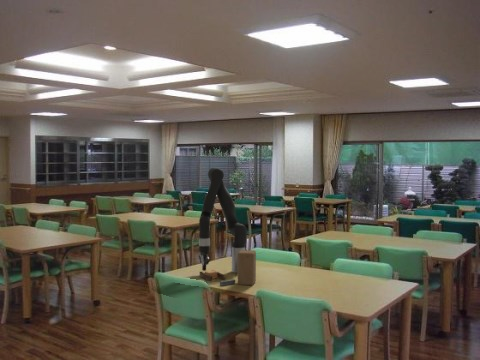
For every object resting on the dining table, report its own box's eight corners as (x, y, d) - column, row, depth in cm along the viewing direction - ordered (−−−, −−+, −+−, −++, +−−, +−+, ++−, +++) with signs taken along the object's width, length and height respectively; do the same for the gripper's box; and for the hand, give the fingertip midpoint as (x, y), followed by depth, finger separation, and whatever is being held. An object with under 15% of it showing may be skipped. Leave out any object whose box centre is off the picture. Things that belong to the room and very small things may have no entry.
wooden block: (253, 285, 292) (253, 253, 291) (237, 284, 294) (237, 252, 293) (256, 281, 301) (256, 250, 301) (240, 281, 303) (240, 249, 303)
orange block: (212, 276, 317) (212, 270, 317) (217, 278, 312) (217, 271, 312) (204, 277, 313) (204, 271, 313) (209, 279, 308) (209, 273, 308)
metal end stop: (234, 283, 297) (234, 279, 297) (235, 284, 296) (235, 280, 296) (220, 285, 292) (220, 281, 292) (221, 286, 291) (221, 282, 290)
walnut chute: (212, 274, 321) (212, 269, 321) (224, 279, 307) (224, 274, 307) (199, 276, 316) (199, 271, 316) (210, 281, 302) (210, 276, 302)
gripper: (214, 245, 316) (213, 271, 317) (204, 242, 327) (204, 268, 328) (204, 246, 312) (203, 273, 313) (195, 243, 323) (194, 269, 324)
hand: (204, 270), depth 320 cm, fingers closed
